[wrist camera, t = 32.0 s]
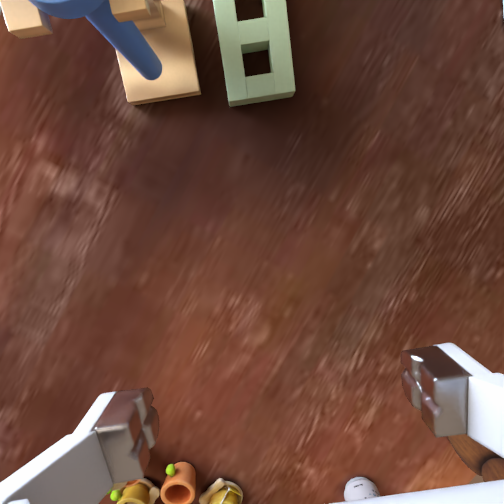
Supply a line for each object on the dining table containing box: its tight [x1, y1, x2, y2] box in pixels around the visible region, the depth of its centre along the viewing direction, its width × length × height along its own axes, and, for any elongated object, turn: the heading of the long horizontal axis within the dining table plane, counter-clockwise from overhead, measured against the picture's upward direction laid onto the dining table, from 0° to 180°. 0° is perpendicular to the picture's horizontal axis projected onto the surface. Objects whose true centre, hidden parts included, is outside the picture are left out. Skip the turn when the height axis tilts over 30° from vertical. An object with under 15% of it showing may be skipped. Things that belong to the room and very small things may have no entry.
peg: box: [29, 0, 162, 80], centre depth 24 cm, size 6×6×18 cm
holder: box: [213, 0, 295, 107], centre depth 35 cm, size 8×14×2 cm, turn 9°
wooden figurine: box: [447, 434, 504, 482], centre depth 43 cm, size 7×6×15 cm
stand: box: [0, 0, 201, 105], centre depth 26 cm, size 11×9×21 cm
